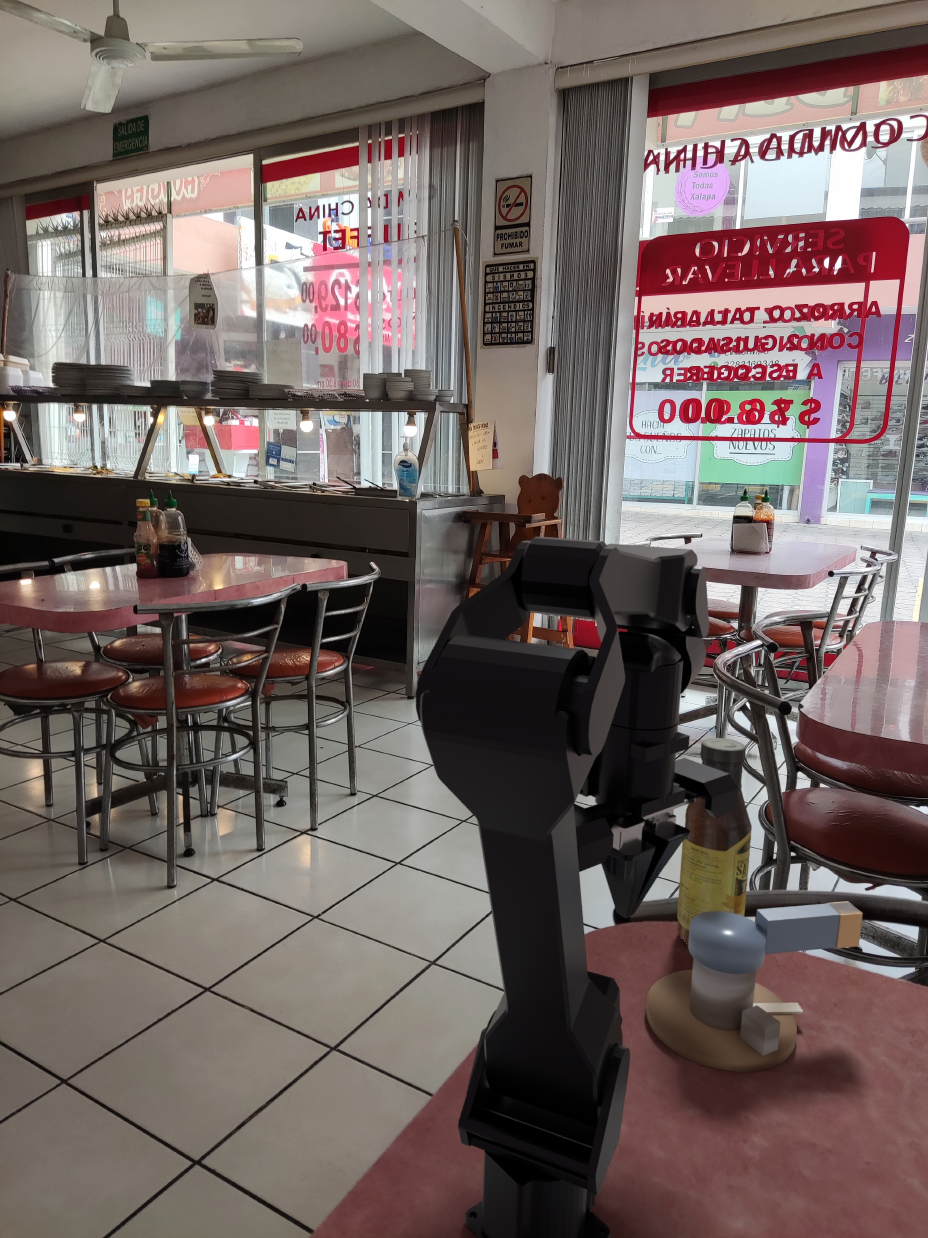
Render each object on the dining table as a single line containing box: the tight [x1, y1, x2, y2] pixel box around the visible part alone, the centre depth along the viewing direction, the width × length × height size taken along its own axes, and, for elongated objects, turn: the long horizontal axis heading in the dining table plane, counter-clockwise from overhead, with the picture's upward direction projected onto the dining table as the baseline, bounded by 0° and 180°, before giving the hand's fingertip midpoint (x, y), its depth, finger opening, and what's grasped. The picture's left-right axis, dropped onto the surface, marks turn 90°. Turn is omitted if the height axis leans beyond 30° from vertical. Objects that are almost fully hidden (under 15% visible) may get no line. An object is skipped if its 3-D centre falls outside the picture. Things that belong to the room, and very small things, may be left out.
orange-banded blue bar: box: [687, 900, 864, 974], centre depth 73 cm, size 14×6×3 cm, turn 101°
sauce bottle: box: [676, 737, 753, 945], centre depth 85 cm, size 6×6×20 cm
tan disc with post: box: [645, 957, 804, 1073], centre depth 74 cm, size 12×12×6 cm
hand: (624, 914), depth 68 cm, fingers closed
